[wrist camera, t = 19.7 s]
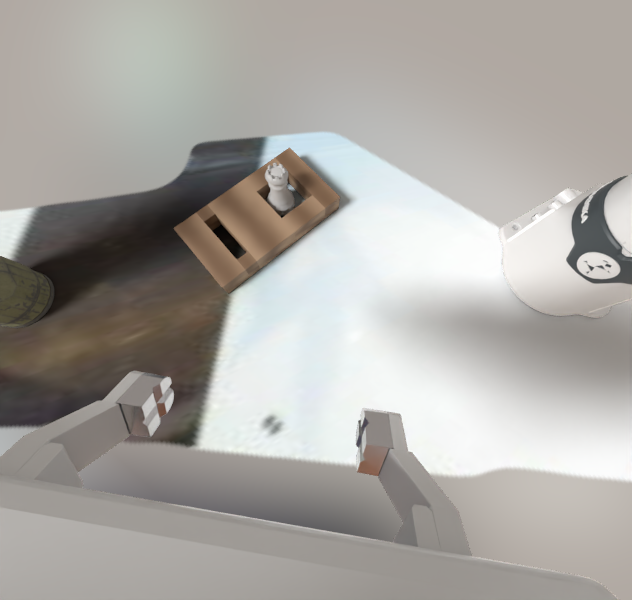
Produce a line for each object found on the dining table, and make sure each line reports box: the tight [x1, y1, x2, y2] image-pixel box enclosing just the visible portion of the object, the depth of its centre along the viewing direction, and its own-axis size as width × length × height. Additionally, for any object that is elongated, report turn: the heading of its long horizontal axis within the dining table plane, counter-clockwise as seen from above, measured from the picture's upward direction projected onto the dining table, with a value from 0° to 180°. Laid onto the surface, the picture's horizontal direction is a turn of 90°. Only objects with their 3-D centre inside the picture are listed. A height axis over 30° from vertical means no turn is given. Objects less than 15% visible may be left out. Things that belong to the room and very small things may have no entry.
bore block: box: [173, 148, 340, 294], centre depth 43 cm, size 22×12×3 cm, turn 131°
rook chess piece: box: [265, 162, 295, 216], centre depth 42 cm, size 4×4×8 cm
